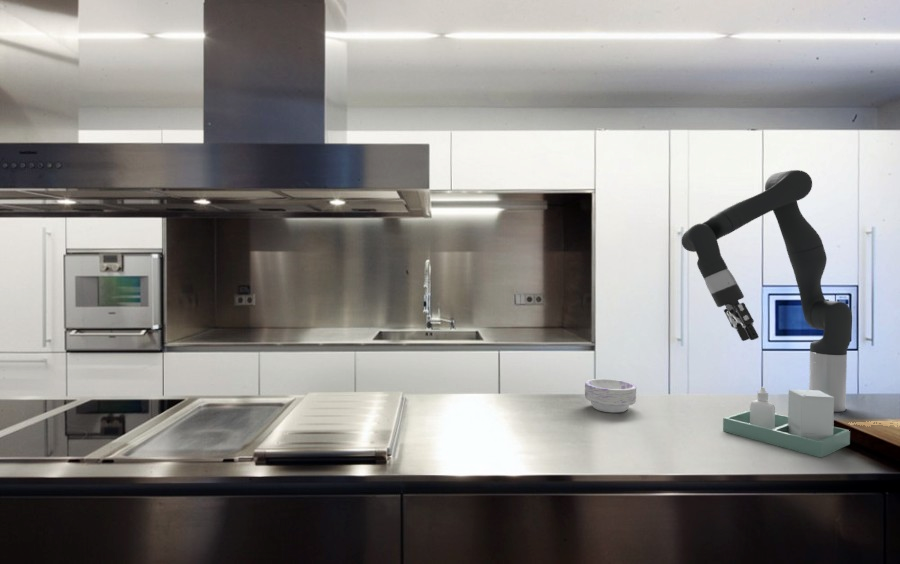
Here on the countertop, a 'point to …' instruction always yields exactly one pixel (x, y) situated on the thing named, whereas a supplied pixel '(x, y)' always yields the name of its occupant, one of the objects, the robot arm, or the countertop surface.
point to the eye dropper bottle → (762, 411)
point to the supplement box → (810, 414)
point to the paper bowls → (610, 394)
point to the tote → (785, 435)
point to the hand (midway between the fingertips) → (750, 339)
